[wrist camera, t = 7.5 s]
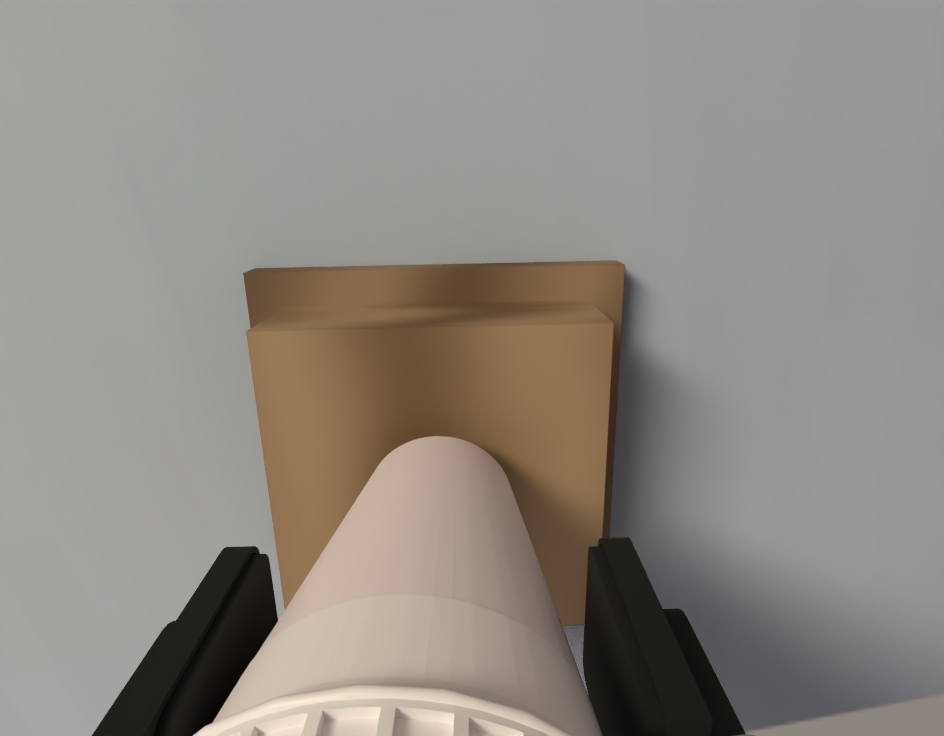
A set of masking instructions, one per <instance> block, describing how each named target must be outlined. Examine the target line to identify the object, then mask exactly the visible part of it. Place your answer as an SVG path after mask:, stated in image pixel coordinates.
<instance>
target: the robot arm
mask: <svg viewBox="0 0 944 736" xmlns="http://www.w3.org/2000/svg"><path fill="white" fill-rule="evenodd" d="M277 622H278V618H277V611H276V604H275V597H274V590H273V583H272V577H271V570H270V563H269V558H268V556H267V555H266V554H260V553H259V550H258V548H257V547H255V546H250V547H226V548H224V549H223V550H222V551H221V553H220V554H219V556H218V557H217V559H216V560H215V562H214V564H213V565H212V567H211V568H210V570H209V571H208V573H207V574H206V576H205V577H204V579H203V580H202V582H201V583H200V585H199V587H198V588H197V590H196V591H195V593H194V594H193V596H192V597H191V599H190V600H189V602H188V603H187V605H186V606H185V608H184V610H183V611H182V613H181V614H180V616H179V617H178V619H177V620H176V621H173V622H171V623H169V624H167V626H166V627H165V628H164V629H163V630H162V632H161V633H160V635H159V636H158V638H157V639H156V641H155V642H154V644H153V645H152V647H151V648H150V650H149V651H148V653H147V654H146V656H145V657H144V659H143V660H142V662H141V663H140V665H139V666H138V668H137V669H136V671H135V672H134V674H133V675H132V677H131V678H130V679H129V681H128V682H127V684H126V685H125V687H124V688H123V690H122V691H121V693H120V694H119V696H118V697H117V699H116V700H115V702H114V703H113V705H112V706H111V708H110V709H109V711H108V712H107V714H106V715H105V717H104V718H103V720H102V721H101V723H100V724H99V726H98V727H97V729H96V730H95V732H94V733H93V735H92V736H193V735H194V734H195V733H197V732H198V731H199V730H201V729H202V728H203V727H205V726H206V725H209V724H211V723H213V721H214V719H215V718H216V716H217V715H218V713H219V711H220V710H221V708H222V707H223V705H224V703H225V702H226V700H227V698H228V697H229V695H230V694H231V692H232V690H233V689H234V687H235V686H236V684H237V682H238V681H239V679H240V677H241V676H242V674H243V673H244V671H245V670H246V668H247V667H248V665H249V664H250V662H251V661H252V660H253V659H254V657H255V656H256V654H257V653H258V651H259V650H260V648H261V647H262V645H263V644H264V642H265V640H266V639H267V637H268V636H269V634H270V633H271V631H272V630H273V628H274V626H275V625H276V623H277ZM583 668H584V676H585V681H586V685H587V690H588V694H589V698H590V701H591V704H592V706H593V709H594V712H595V715H596V718H597V721H598V724H599V727H600V729H601V732H602V735H603V736H754V735H748V734H745V732H744V730H743V728H742V726H741V724H740V722H739V720H738V718H737V716H736V714H735V712H734V710H733V708H732V706H731V704H730V702H729V700H728V698H727V696H726V694H725V692H724V690H723V688H722V686H721V684H720V682H719V680H718V678H717V676H716V674H715V672H714V670H713V668H712V666H711V664H710V662H709V660H708V658H707V656H706V654H705V652H704V650H703V648H702V646H701V644H700V642H699V640H698V639H697V637H696V635H695V633H694V631H693V629H692V627H691V625H690V623H689V621H688V619H687V617H686V615H685V614H684V612H683V611H682V610H680V609H662V607H661V605H660V603H659V601H658V598H657V596H656V594H655V592H654V590H653V587H652V585H651V583H650V581H649V579H648V577H647V574H646V572H645V570H644V568H643V566H642V563H641V561H640V559H639V557H638V555H637V552H636V550H635V548H634V546H633V544H632V542H631V540H630V538H600V539H599V541H598V546H590V547H589V549H588V562H587V583H586V605H585V626H584V647H583Z"/></svg>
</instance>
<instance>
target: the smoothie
mask: <svg viewBox="0 0 944 736" xmlns="http://www.w3.org/2000/svg"><path fill="white" fill-rule="evenodd" d="M193 736H603V735H602V732H601V729H600V727H599V724H598V721H597V718H596V715H595V712H594V709H593V706H592V704H591V701H590V698H589V696H588V694H587V692H586V690H585V687H584V684H583V682H582V679H581V676H580V673H579V671H578V668H577V665H576V663H575V660H574V657H573V654H572V652H571V649H570V646H569V644H568V641H567V638H566V635H565V633H564V630H563V627H562V625H561V622H560V619H559V616H558V614H557V611H556V608H555V606H554V603H553V600H552V597H551V595H550V592H549V589H548V587H547V584H546V581H545V578H544V576H543V573H542V570H541V568H540V565H539V562H538V559H537V557H536V554H535V551H534V549H533V546H532V543H531V540H530V538H529V535H528V532H527V530H526V527H525V524H524V521H523V519H522V516H521V513H520V511H519V508H518V505H517V502H516V500H515V497H514V494H513V492H512V489H511V486H510V483H509V481H508V478H507V476H506V474H505V472H504V471H503V469H502V467H501V466H500V465H499V464H498V462H497V461H496V460H495V459H494V458H493V457H492V456H491V455H490V454H488V453H487V452H486V451H484V450H483V449H482V448H480V447H478V446H476V445H474V444H472V443H470V442H468V441H465V440H462V439H458V438H453V437H446V436H431V437H424V438H419V439H416V440H412V441H410V442H407V443H405V444H403V445H401V446H399V447H398V448H396V449H395V450H393V451H392V452H391V453H389V454H388V455H387V456H386V457H385V458H384V459H383V460H382V461H381V463H380V464H379V465H378V467H377V468H376V470H375V471H374V473H373V474H372V476H371V477H370V479H369V481H368V482H367V484H366V485H365V487H364V488H363V490H362V491H361V493H360V495H359V496H358V498H357V499H356V501H355V502H354V504H353V505H352V507H351V508H350V510H349V512H348V513H347V515H346V516H345V518H344V519H343V521H342V522H341V524H340V526H339V527H338V529H337V530H336V532H335V533H334V535H333V536H332V538H331V540H330V541H329V543H328V544H327V546H326V547H325V549H324V550H323V552H322V553H321V555H320V557H319V558H318V560H317V561H316V563H315V564H314V566H313V567H312V569H311V571H310V572H309V574H308V575H307V577H306V578H305V580H304V581H303V583H302V585H301V586H300V588H299V589H298V591H297V592H296V594H295V595H294V597H293V599H292V600H291V602H290V603H289V605H288V606H287V608H286V609H285V611H284V612H283V614H282V616H281V617H280V619H279V620H278V622H277V623H276V625H275V626H274V628H273V630H272V631H271V633H270V634H269V636H268V637H267V639H266V640H265V642H264V644H263V645H262V647H261V648H260V650H259V651H258V653H257V654H256V656H255V657H254V659H253V660H252V661H251V662H250V664H249V665H248V667H247V668H246V670H245V671H244V673H243V674H242V676H241V677H240V679H239V681H238V682H237V684H236V686H235V687H234V689H233V690H232V692H231V694H230V695H229V697H228V698H227V700H226V702H225V703H224V705H223V707H222V708H221V710H220V711H219V713H218V715H217V716H216V718H215V719H214V721H213V723H211V724H209V725H206V726H205V727H203V728H202V729H201V730H199V731H198V732H197V733H195V734H194V735H193Z"/></svg>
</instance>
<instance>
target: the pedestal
mask: <svg viewBox="0 0 944 736" xmlns="http://www.w3.org/2000/svg"><path fill="white" fill-rule="evenodd" d="M624 271H625V265H624V264H622V263H620V262H618V261H578V262H533V263H487V264H441V265H395V266H349V267H303V268H258V269H253V270H250V271H248V272H246V273H243V275H244V282H245V289H246V297H247V304H248V311H249V319H250V326H251V329H250V330H248V331H247V332H246V333H247V340H248V347H249V355H250V362H251V369H252V376H253V383H254V391H255V398H256V405H257V412H258V419H259V427H260V434H261V441H262V448H263V455H264V463H265V470H266V477H267V484H268V491H269V498H270V506H271V513H272V520H273V527H274V534H275V542H276V549H277V556H278V563H279V570H280V578H281V585H282V592H283V599H284V606H285V609H286V608H287V606H288V605H289V603H290V602H291V600H292V599H293V597H294V595H295V594H296V592H297V591H298V589H299V588H300V586H301V585H302V583H303V581H304V580H305V578H306V577H307V575H308V574H309V572H310V571H311V569H312V567H313V566H314V564H315V563H316V561H317V560H318V558H319V557H320V555H321V553H322V552H323V550H324V549H325V547H326V546H327V544H328V543H329V541H330V540H331V538H332V536H333V535H334V533H335V532H336V530H337V529H338V527H339V526H340V524H341V522H342V521H343V519H344V518H345V516H346V515H347V513H348V512H349V510H350V508H351V507H352V505H353V504H354V502H355V501H356V499H357V498H358V496H359V495H360V493H361V491H362V490H363V488H364V487H365V485H366V484H367V482H368V481H369V479H370V477H371V476H372V474H373V473H374V471H375V470H376V468H377V467H378V465H379V464H380V463H381V461H382V460H383V459H384V458H385V457H386V456H387V455H388V454H389V453H391V452H392V451H393V450H395V449H396V448H398V447H399V446H401V445H403V444H405V443H407V442H410V441H412V440H416V439H419V438H424V437H431V436H446V437H453V438H458V439H462V440H465V441H468V442H470V443H472V444H474V445H476V446H478V447H480V448H482V449H483V450H484V451H486V452H487V453H488V454H490V455H491V456H492V457H493V458H494V459H495V460H496V461H497V462H498V464H499V465H500V466H501V467H502V469H503V471H504V472H505V474H506V476H507V478H508V481H509V483H510V486H511V489H512V492H513V494H514V497H515V500H516V502H517V505H518V508H519V511H520V513H521V516H522V519H523V521H524V524H525V527H526V530H527V532H528V535H529V538H530V540H531V543H532V546H533V549H534V551H535V554H536V557H537V559H538V562H539V565H540V568H541V570H542V573H543V576H544V578H545V581H546V584H547V587H548V589H549V592H550V595H551V597H552V600H553V603H554V606H555V608H556V611H557V614H558V616H559V619H560V622H561V625H562V626H569V625H585V605H586V583H587V562H588V549H589V547H590V546H598V541H599V539H600V538H609V530H610V513H611V496H612V479H613V461H614V444H615V427H616V409H617V392H618V375H619V358H620V340H621V323H622V306H623V288H624Z"/></svg>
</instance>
